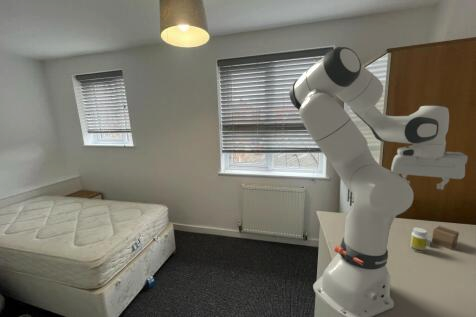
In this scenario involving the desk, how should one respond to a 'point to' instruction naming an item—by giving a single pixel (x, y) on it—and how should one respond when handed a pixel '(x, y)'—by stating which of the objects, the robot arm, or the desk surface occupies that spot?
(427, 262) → the desk surface
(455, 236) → the walnut block
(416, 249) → the supplement bottle
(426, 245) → the grey block
